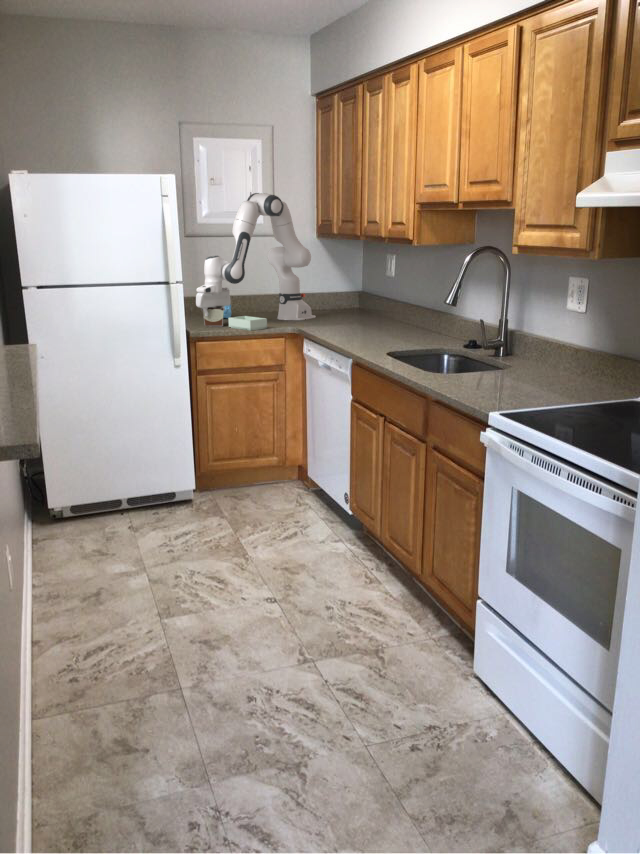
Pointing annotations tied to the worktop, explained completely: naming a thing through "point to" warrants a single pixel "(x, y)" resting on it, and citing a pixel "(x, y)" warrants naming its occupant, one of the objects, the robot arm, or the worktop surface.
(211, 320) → the food container
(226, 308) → the teapot
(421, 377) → the worktop surface
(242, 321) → the crate
